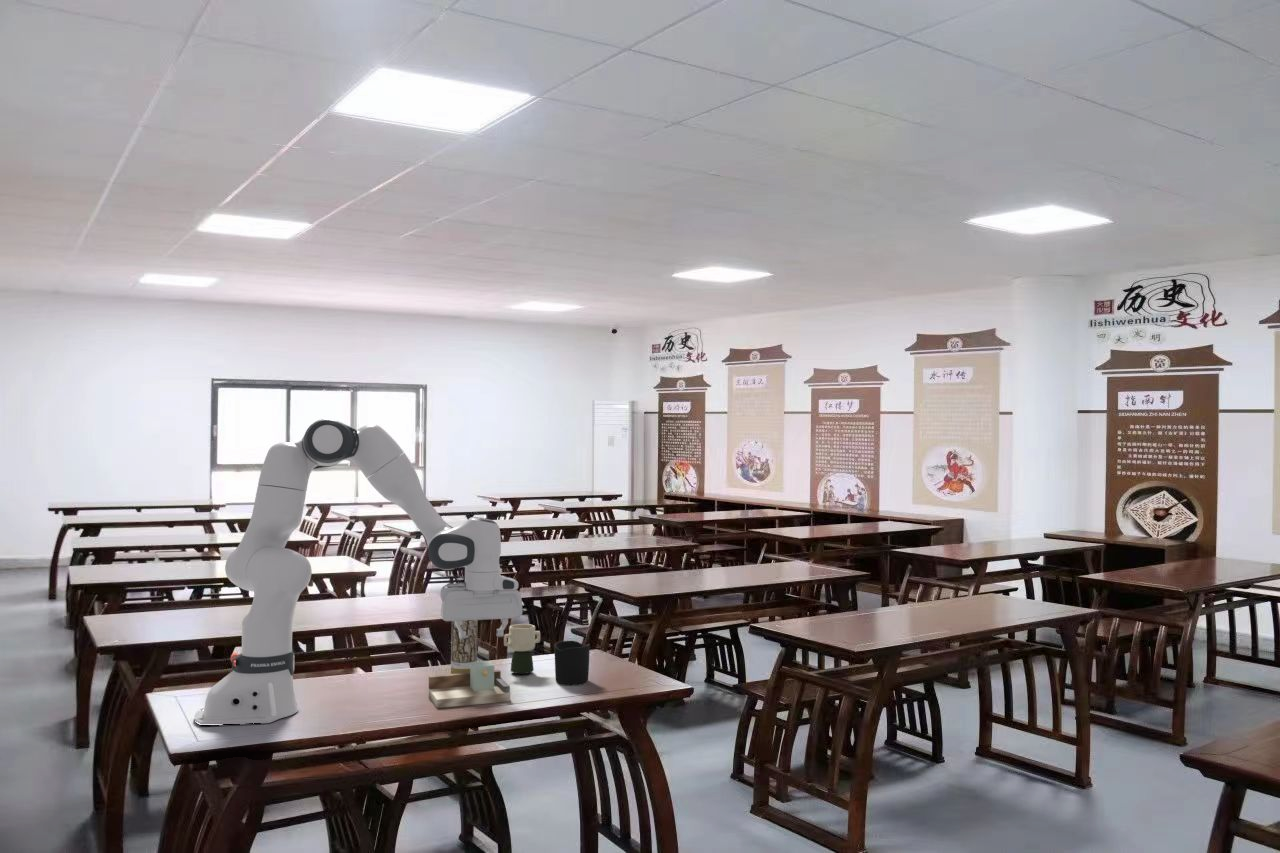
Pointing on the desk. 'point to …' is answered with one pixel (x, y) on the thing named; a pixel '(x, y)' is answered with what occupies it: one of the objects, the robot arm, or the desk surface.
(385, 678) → the desk surface
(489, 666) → the mint green box
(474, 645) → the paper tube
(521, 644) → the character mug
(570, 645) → the pen holder
